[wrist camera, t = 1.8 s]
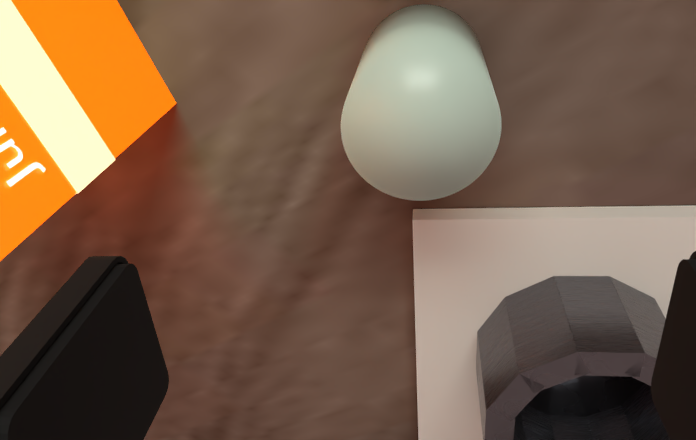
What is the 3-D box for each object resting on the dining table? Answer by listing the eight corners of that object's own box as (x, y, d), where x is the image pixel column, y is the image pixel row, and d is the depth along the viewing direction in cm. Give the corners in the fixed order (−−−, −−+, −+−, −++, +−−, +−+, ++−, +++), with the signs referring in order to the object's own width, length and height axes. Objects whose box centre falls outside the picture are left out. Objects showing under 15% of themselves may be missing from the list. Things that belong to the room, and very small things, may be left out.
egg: (484, 0, 22) (505, 45, 16) (480, 121, 25) (497, 199, 19) (358, 8, 23) (333, 54, 17) (366, 125, 25) (346, 201, 19)
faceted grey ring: (688, 276, 26) (740, 355, 22) (652, 420, 30) (689, 509, 26) (479, 275, 27) (489, 350, 23) (474, 414, 32) (481, 498, 27)
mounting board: (770, 204, 25) (782, 216, 24) (695, 446, 32) (702, 461, 32) (412, 209, 27) (412, 220, 26) (418, 435, 34) (418, 449, 34)
